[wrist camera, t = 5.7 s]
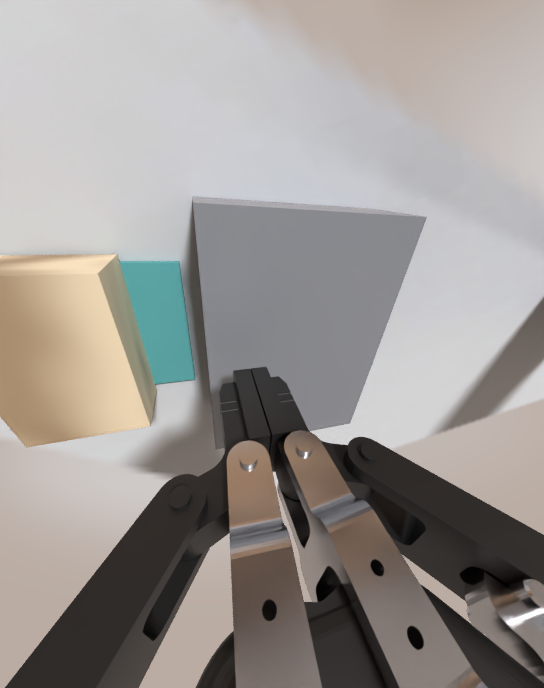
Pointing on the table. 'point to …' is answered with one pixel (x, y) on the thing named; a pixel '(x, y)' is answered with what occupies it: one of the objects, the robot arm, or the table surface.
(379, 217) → the grey rectangular block
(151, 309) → the teal rubber mat
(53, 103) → the table surface
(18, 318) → the maple tile
